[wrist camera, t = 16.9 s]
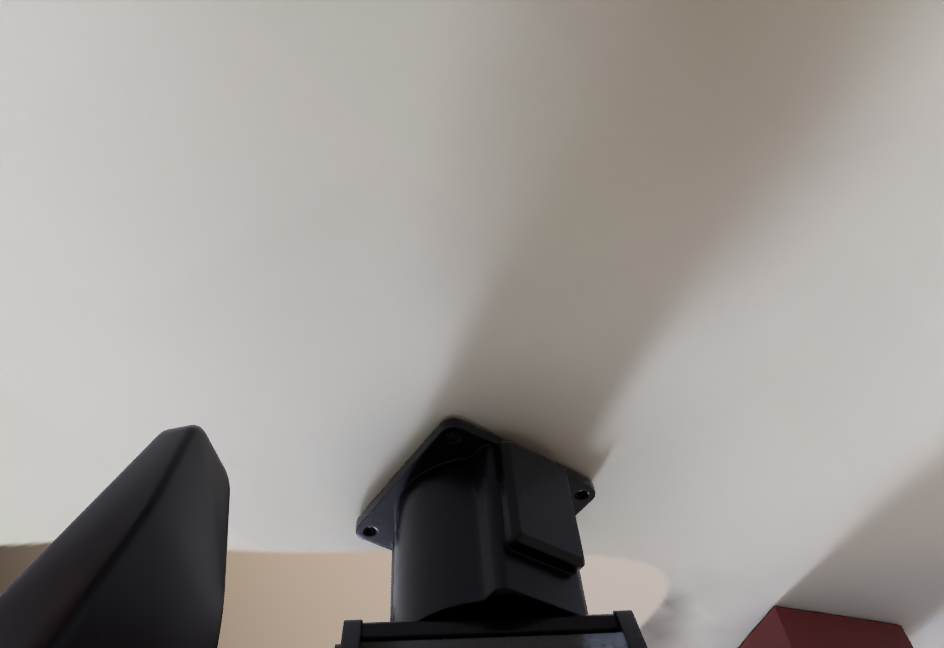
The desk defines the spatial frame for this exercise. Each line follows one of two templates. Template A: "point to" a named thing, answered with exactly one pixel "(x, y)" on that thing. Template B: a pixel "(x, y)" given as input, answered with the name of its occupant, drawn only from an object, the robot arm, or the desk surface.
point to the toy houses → (823, 632)
